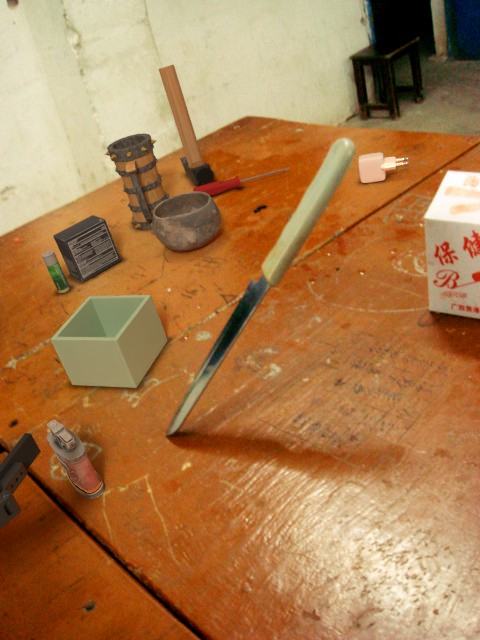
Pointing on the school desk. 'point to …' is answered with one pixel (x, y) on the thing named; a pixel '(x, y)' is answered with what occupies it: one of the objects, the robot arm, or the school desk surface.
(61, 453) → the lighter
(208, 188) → the screwdriver
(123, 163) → the mug
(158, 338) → the trash bin
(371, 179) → the power adapter
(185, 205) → the bowl
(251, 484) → the school desk surface
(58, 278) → the battery
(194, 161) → the hammer
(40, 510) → the school desk surface
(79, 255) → the small box
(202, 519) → the school desk surface
